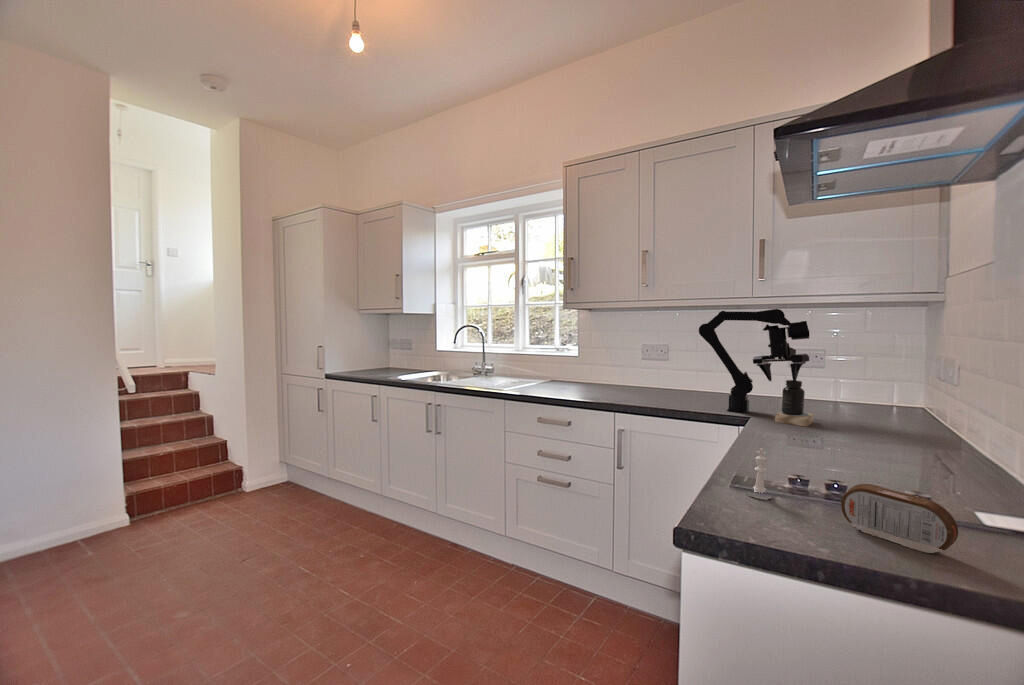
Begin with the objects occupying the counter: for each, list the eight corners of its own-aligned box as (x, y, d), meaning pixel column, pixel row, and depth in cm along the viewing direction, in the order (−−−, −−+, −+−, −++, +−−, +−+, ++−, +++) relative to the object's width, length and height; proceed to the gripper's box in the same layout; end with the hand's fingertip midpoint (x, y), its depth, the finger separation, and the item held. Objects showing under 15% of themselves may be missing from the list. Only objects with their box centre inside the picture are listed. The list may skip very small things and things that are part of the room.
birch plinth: (774, 421, 166) (775, 413, 166) (782, 417, 173) (782, 409, 173) (806, 426, 159) (807, 417, 159) (813, 422, 166) (813, 413, 166)
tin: (956, 558, 71) (960, 505, 71) (951, 564, 69) (955, 510, 69) (844, 522, 83) (846, 477, 83) (837, 526, 82) (839, 480, 81)
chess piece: (746, 489, 99) (748, 444, 98) (772, 494, 96) (774, 447, 96) (745, 497, 94) (747, 450, 94) (773, 502, 92) (775, 453, 92)
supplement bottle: (807, 416, 161) (808, 382, 160) (786, 415, 162) (787, 381, 162) (798, 412, 168) (800, 379, 167) (778, 411, 169) (779, 379, 168)
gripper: (814, 338, 173) (818, 378, 173) (765, 341, 189) (769, 378, 189) (799, 340, 167) (803, 382, 167) (750, 343, 183) (754, 381, 183)
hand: (782, 381), depth 177 cm, fingers open, 9 cm apart
